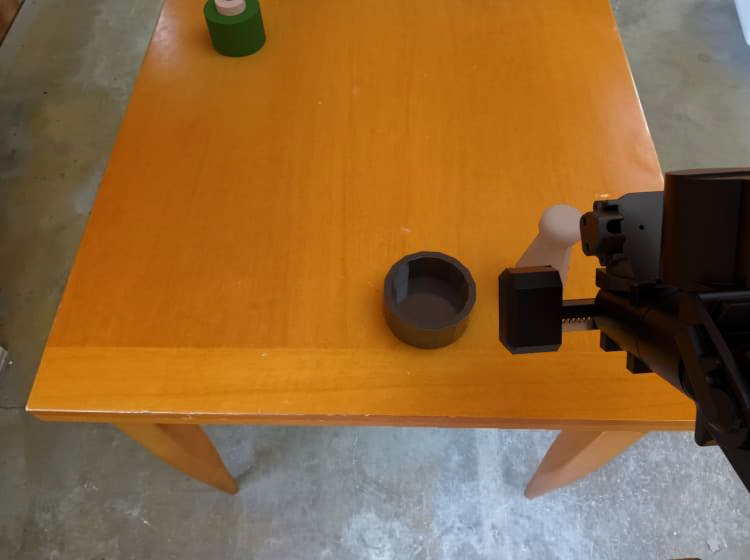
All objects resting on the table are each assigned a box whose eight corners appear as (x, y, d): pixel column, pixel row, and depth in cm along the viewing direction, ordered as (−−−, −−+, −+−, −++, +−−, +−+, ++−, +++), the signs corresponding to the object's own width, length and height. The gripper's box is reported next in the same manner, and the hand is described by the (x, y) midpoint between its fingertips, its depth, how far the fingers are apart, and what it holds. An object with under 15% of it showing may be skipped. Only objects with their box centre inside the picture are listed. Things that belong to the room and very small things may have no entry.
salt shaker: (563, 311, 63) (602, 242, 52) (511, 311, 63) (539, 242, 52) (555, 267, 66) (590, 193, 55) (505, 267, 66) (531, 193, 55)
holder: (488, 313, 63) (495, 292, 59) (425, 366, 60) (428, 348, 56) (428, 259, 67) (431, 236, 63) (365, 306, 63) (364, 285, 60)
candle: (238, 64, 86) (223, 1, 77) (201, 42, 88) (182, -20, 80) (276, 37, 89) (266, -26, 81) (239, 17, 92) (225, -46, 83)
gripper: (844, 195, 34) (690, 180, 49) (533, 215, 33) (475, 193, 48) (821, 370, 36) (681, 304, 52) (532, 391, 36) (477, 318, 51)
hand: (581, 278), depth 51 cm, fingers open, 9 cm apart
